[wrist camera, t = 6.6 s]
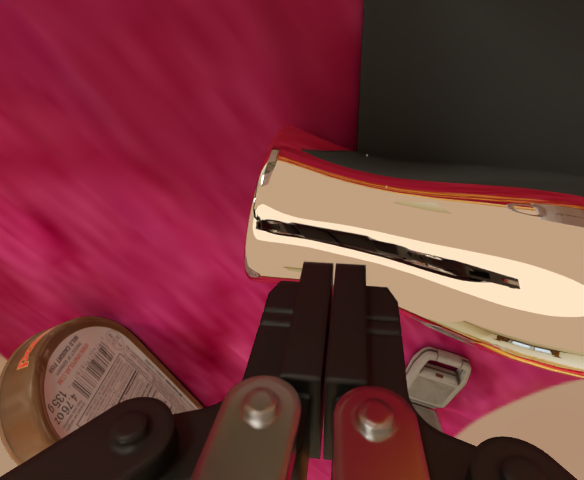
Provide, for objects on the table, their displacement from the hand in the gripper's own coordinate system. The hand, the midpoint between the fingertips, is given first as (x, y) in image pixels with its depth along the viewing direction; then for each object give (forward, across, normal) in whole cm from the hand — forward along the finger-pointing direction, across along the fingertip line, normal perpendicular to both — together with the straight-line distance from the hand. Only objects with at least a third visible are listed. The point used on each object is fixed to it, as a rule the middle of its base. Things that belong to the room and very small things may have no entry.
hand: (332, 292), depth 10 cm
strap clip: (+9, -5, +15) cm, 18 cm away
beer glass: (+6, +3, +1) cm, 7 cm away
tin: (+9, +12, +15) cm, 21 cm away
